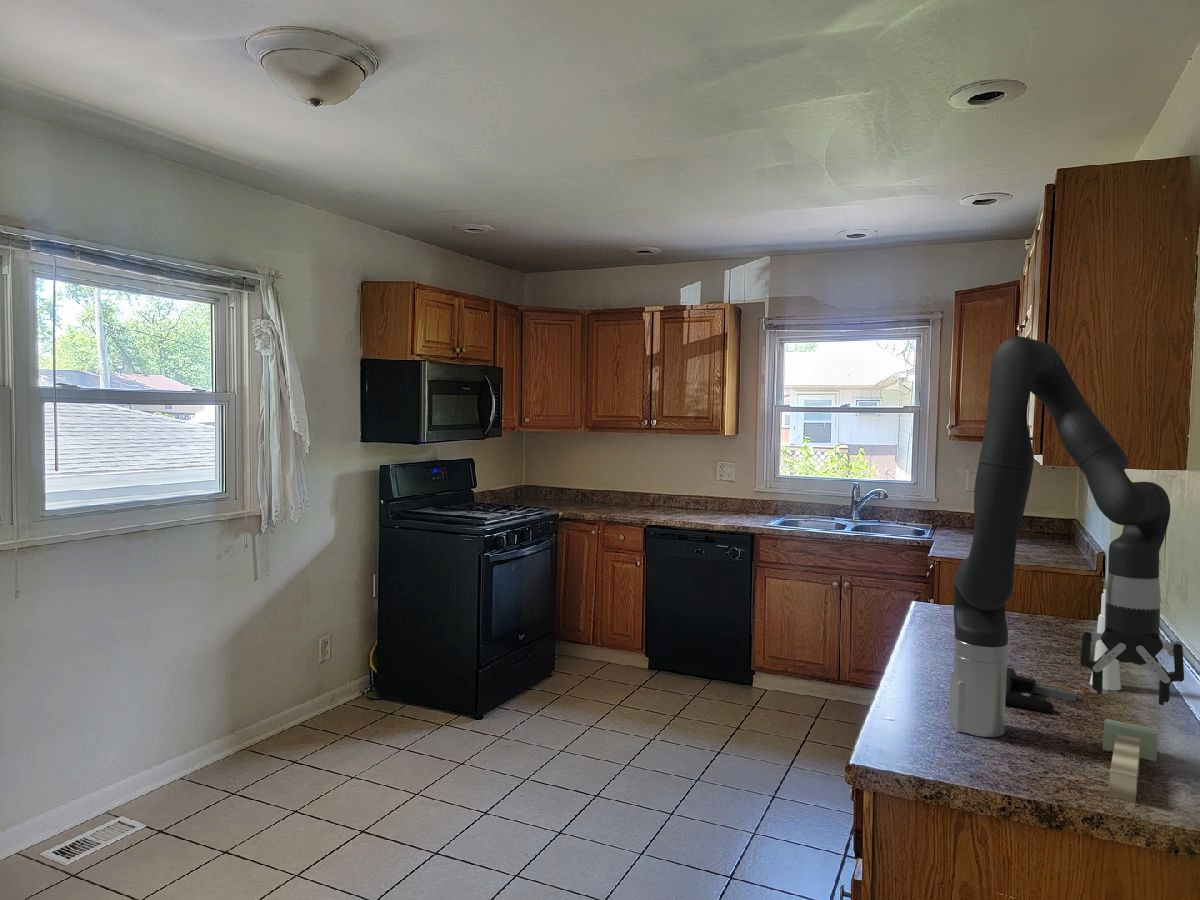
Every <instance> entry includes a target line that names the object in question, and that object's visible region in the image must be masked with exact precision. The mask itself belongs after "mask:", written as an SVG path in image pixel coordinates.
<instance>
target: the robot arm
mask: <svg viewBox="0 0 1200 900" xmlns="http://www.w3.org/2000/svg"><path fill="white" fill-rule="evenodd" d="M990 365H991V366H990V374H989V375H990V376H989V388H988V389H989V391H988V393H989V394H988V403H987V404H988V405H987V415H986V420H985V426H984V431H983V438H982V445H981V450H980V454H979V458H978V462H977V470H976V474H975V480H974V491H973V515H974V517H973V518H974V526H973V527H974V529H973V530H974V531H973V537H972V543H971V546H970V550H969V554H968V557H967V558H964V559H963V560H962V561H961V562H960V563H959V564H958V566H957V568H956V570H955V572H954V573H955V575H954V582H953V622H954V653H953V655H954V656H953V672H951V673H950V676H949V678H950V679H949V701H948V702H949V706H948V707H949V708H948V721H949V722H950V724H951V726H953V728H954V729H955V730H956V732H958V733H965V734H969V735H972V736H977V737H983V738H997V737H1001V736H1002V735H1004V734H1005V730H1006V729H1005V728H1006V709H1007V708H1006V705H1007V704H1006V679H1007V668H1008V649H1009V648H1008V646H1009V630H1008V624H1007V619H1006V618H1007V617H1006V616H1007V615H1006V608H1007V607H1006V603H1007V601H1008V600H1009V599H1010V598H1011V596H1012V593H1013V589H1014V579H1015V578H1014V577H1015V575H1014V574H1015V559H1016V549H1017V542H1018V537H1019V536H1018V535H1019V532H1020V529H1021V526H1022V525H1021V524H1022V521H1023V517H1024V514H1025V513H1024V512H1025V511H1026V510H1025V509H1026V504H1027V500H1028V496H1029V491H1030V486H1031V482H1032V476H1033V470H1034V463H1035V461H1034V459H1035V458H1034V456H1035V455H1034V449H1033V443H1032V439H1031V435H1030V430H1029V425H1028V418H1027V417H1028V408H1029V407H1028V406H1029V402H1030V401H1029V400H1030V395H1031V393H1032V395H1034V396H1035V398H1037V399H1038V401H1040V402H1041V403H1042V404H1043V405H1044V407H1045V408H1046V409H1047V411H1048V412H1049V414H1050V416H1051V418H1052V419H1053V422H1054V424H1055V428H1056V431H1057V434H1058V437H1059V439H1060V442H1061V444H1062V446H1063V447H1064V449H1065V450H1066V452H1067V454H1068V455H1069V457H1071V459H1072V460H1073V462H1074V463H1075V465H1077V467H1078V468H1079V469H1080V471H1081V472H1082V473H1083V474H1084V475H1085V478H1086V482H1087V484H1088V488H1089V489H1090V492H1091V494H1092V497H1093V499H1094V502H1095V505H1096V506H1097V508H1098V509H1099V510H1100V512H1101V513H1102V514H1103V515H1104V517H1105V518H1107V519H1108V520H1109V521H1111V522H1112V523H1114V524H1116V525H1120V526H1123V527H1122V533H1121V534H1120V536H1119V537H1117V538H1115V539H1114V540H1112V541H1111V542H1110V543H1109V547H1108V562H1107V563H1108V564H1107V566H1108V567H1107V570H1108V571H1107V578H1106V585H1105V589H1106V594H1105V596H1106V606H1105V631H1104V632H1103V634H1102V633H1097V631H1095V632H1094V631H1092V630H1091V629H1089V628H1087V629H1085V630H1084V631H1083V633H1082V640H1081V651H1080V652H1081V653H1080V663H1079V664H1080V665H1081V666H1082V667H1086V668H1088V669H1089V670H1091V673H1092V672H1093V678H1092V686H1091V687H1092V689H1093V690H1094V691H1096V694H1098V695H1103V691H1104V690H1103V670H1102V669H1103V668H1104V667H1105V666H1106V665H1108V664H1109V663H1110V662H1111V661H1113V660H1114V659H1116V660H1118V661H1119V663H1123V664H1126V663H1127V664H1129V663H1132V664H1134V665H1139V666H1143V665H1148V666H1149V668H1150V669H1151V671H1153V672H1154V673H1155V674H1156V676H1157V677H1158V678H1159V680H1158V681H1159V683H1158V705H1159V706H1164V704H1165V703H1169V701H1170V696H1171V695H1170V691H1171V690H1170V687H1171V683H1174V682H1180V683H1181V682H1183V681H1185V669H1184V668H1185V667H1184V665H1185V664H1184V648H1183V645H1184V644H1183V643H1182V642H1181V641H1179V640H1177V641H1172V642H1171V641H1162V639H1161V636H1160V628H1161V627H1160V626H1161V623H1160V622H1161V603H1162V597H1161V585H1160V550H1161V549H1162V545H1163V542H1164V540H1165V535H1166V533H1167V529H1168V525H1169V522H1170V517H1171V501H1170V498H1169V495H1168V494H1167V491H1166V490H1165V489H1164V488H1163V487H1162V486H1160V485H1159V484H1157V483H1155V482H1151V481H1135V482H1133V481H1132V480H1131V479H1130V478H1129V476H1128V475H1127V473H1126V469H1127V468H1128V466H1129V462H1130V461H1129V457H1128V456H1127V454H1126V452H1125V450H1123V448H1122V447H1121V446H1120V445H1119V443H1118V442H1117V441H1116V439H1115V438H1114V437H1113V436H1112V434H1111V433H1110V432H1109V430H1108V429H1107V428H1106V427H1105V426H1104V425H1103V423H1102V422H1101V421H1100V419H1099V418H1098V417H1097V416H1096V414H1095V412H1093V410H1092V409H1091V407H1090V406H1089V404H1088V403H1087V401H1086V400H1085V398H1084V397H1083V395H1082V393H1081V391H1080V390H1079V388H1078V387H1077V385H1076V383H1075V381H1074V380H1073V378H1072V376H1071V374H1070V372H1069V370H1068V368H1067V366H1066V364H1065V362H1064V360H1063V358H1062V357H1061V355H1060V354H1059V352H1058V351H1057V349H1056V348H1055V347H1054V346H1052V345H1051V344H1049V343H1047V342H1044V341H1040V340H1038V339H1033V338H1030V337H1025V336H1017V335H1016V336H1010V337H1009V338H1007V339H1005V340H1004V341H1003V342H1002V343H1000V344H999V345H998V347H997V348H996V349H995V351H994V354H993V356H992V360H991V364H990ZM1098 640H1102V642H1103V644H1104V645H1105V646H1106V647H1107V649H1108V650H1107V651H1106V652H1105V653H1104V654H1103V655H1102V656H1101V657H1100V658H1099V659H1098V660H1097V661H1094V659H1092V658H1091V649H1092V646H1096V642H1097V641H1098ZM1162 650H1166V653H1167V655H1168V656H1170V657H1173V664H1174V671H1168V670H1167V669H1166V668H1165V666H1163V664H1162V662H1161V661H1160V659H1158V657H1157V655H1158V654H1159V653H1160V652H1161V651H1162Z"/></svg>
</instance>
